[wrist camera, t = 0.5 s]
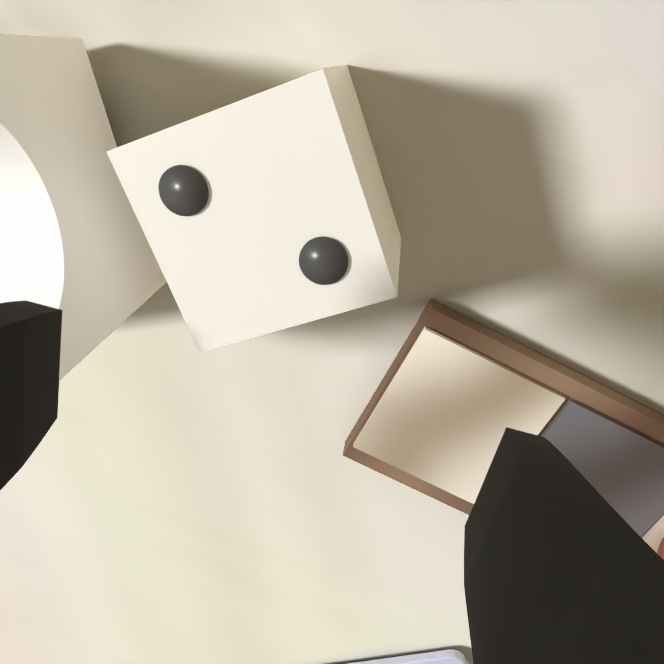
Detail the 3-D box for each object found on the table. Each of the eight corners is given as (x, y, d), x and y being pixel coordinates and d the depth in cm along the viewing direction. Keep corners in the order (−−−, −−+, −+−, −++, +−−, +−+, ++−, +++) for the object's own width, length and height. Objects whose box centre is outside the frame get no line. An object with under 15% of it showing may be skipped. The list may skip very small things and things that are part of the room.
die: (401, 237, 18) (397, 298, 14) (249, 283, 20) (198, 353, 15) (347, 64, 17) (322, 68, 12) (184, 127, 18) (104, 151, 13)
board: (838, 503, 20) (858, 524, 19) (712, 615, 23) (724, 639, 22) (431, 298, 19) (431, 311, 18) (345, 441, 21) (342, 458, 21)
